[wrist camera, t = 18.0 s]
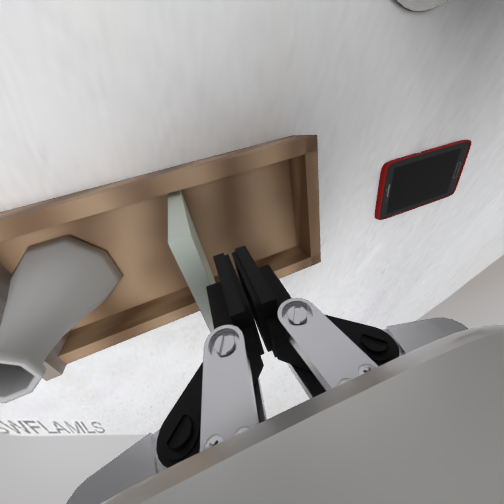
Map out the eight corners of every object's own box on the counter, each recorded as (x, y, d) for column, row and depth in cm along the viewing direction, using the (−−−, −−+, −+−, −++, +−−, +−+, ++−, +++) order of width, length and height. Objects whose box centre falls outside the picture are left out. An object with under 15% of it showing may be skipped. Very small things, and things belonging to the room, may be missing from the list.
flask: (78, 318, 21) (17, 439, 12) (-9, 271, 16) (-187, 406, 8) (138, 275, 21) (119, 366, 12) (67, 218, 17) (-33, 298, 8)
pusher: (179, 187, 18) (191, 235, 9) (213, 276, 23) (242, 362, 14) (167, 190, 18) (167, 243, 9) (204, 279, 23) (228, 369, 14)
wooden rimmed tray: (292, 135, 20) (324, 134, 16) (302, 247, 27) (326, 266, 23) (-48, 225, 15) (-129, 257, 11) (69, 335, 22) (46, 380, 18)
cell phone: (447, 193, 33) (454, 194, 32) (371, 219, 30) (377, 222, 29) (465, 138, 29) (474, 138, 28) (379, 162, 26) (386, 163, 25)
